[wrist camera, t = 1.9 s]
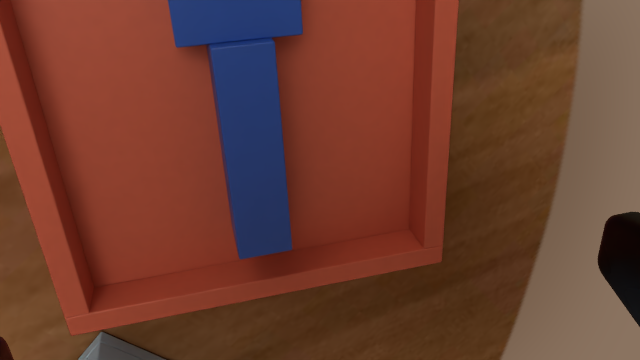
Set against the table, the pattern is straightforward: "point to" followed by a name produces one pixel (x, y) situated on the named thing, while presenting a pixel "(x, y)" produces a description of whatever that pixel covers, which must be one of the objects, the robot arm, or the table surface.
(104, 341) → the blue tray
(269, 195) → the blue stepped bar
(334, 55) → the red tray
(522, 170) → the table surface
